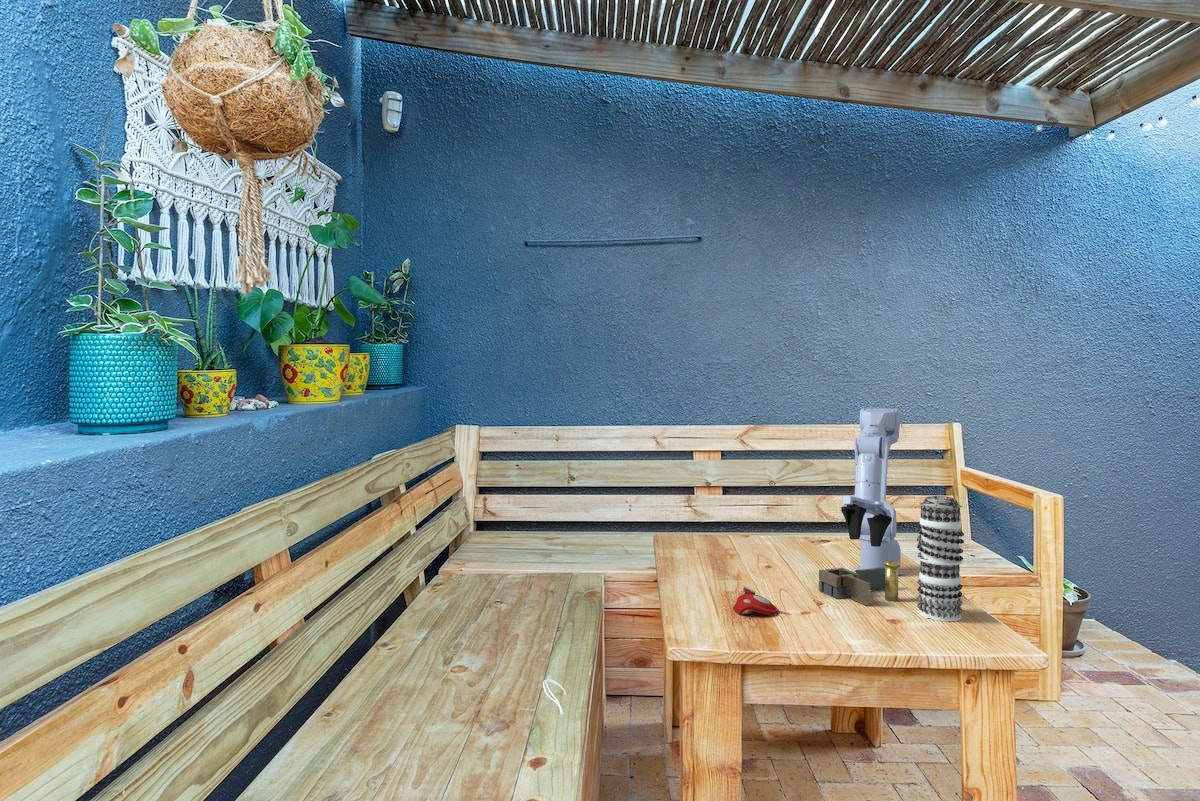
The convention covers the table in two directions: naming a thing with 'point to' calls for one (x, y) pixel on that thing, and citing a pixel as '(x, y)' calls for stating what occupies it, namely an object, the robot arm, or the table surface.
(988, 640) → the table surface
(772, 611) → the tracker holder
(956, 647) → the table surface
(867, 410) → the robot arm
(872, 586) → the fixed leaf
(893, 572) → the hinge pin
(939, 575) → the decorative candle
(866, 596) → the swing leaf
